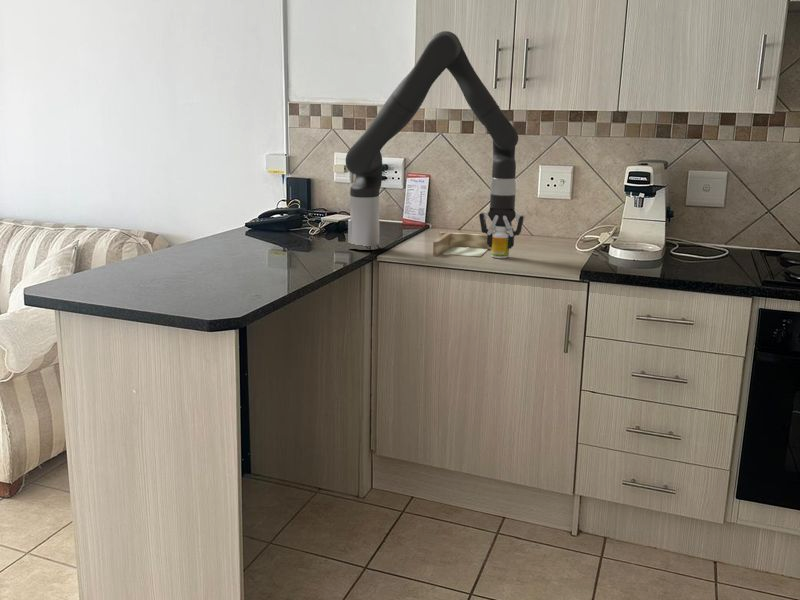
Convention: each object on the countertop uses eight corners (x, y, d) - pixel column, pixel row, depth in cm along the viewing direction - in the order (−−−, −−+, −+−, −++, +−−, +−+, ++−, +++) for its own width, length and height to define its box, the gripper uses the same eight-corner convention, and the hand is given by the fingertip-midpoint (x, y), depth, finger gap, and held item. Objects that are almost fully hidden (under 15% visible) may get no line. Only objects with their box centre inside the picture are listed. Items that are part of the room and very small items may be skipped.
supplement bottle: (507, 259, 243) (509, 227, 240) (490, 258, 244) (491, 226, 241) (509, 255, 248) (510, 224, 245) (491, 254, 249) (493, 223, 246)
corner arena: (426, 255, 248) (426, 241, 247) (440, 245, 264) (440, 231, 263) (482, 259, 243) (483, 245, 242) (493, 248, 259) (494, 235, 257)
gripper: (477, 193, 239) (474, 248, 244) (524, 195, 235) (521, 251, 240) (482, 190, 246) (480, 243, 251) (528, 192, 242) (525, 246, 247)
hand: (500, 247), depth 245 cm, fingers closed on supplement bottle, 5 cm apart
